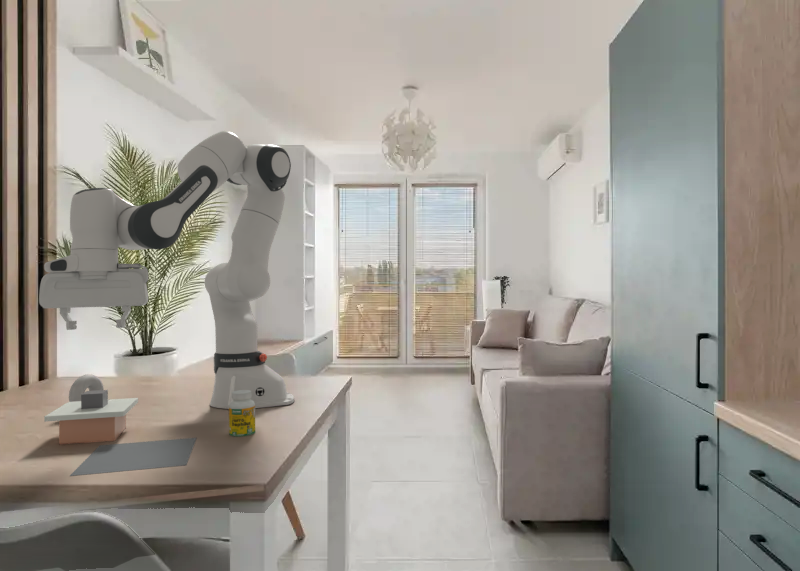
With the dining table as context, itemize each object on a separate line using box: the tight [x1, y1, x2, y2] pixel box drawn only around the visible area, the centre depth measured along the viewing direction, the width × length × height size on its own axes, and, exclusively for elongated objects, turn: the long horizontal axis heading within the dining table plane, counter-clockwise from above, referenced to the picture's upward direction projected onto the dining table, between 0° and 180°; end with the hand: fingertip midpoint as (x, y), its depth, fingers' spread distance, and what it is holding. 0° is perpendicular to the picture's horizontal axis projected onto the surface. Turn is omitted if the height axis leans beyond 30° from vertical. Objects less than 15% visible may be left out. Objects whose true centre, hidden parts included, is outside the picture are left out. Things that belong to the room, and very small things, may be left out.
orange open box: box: [58, 414, 127, 446], centre depth 112 cm, size 10×10×6 cm
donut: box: [68, 373, 105, 402], centre depth 137 cm, size 10×4×10 cm, turn 168°
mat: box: [69, 437, 198, 477], centre depth 99 cm, size 18×18×1 cm
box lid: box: [43, 389, 139, 423], centre depth 112 cm, size 14×14×4 cm
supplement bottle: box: [228, 390, 256, 437], centre depth 113 cm, size 5×5×10 cm
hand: (96, 328), depth 114 cm, fingers open, 8 cm apart
